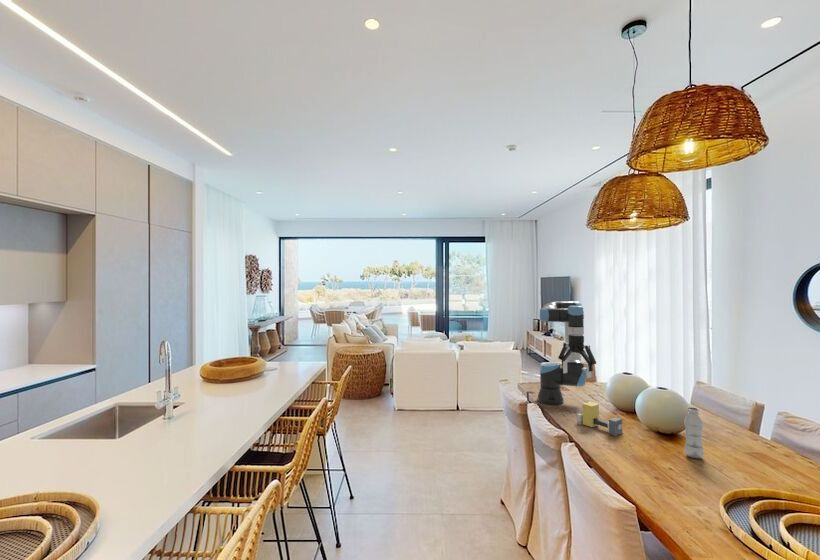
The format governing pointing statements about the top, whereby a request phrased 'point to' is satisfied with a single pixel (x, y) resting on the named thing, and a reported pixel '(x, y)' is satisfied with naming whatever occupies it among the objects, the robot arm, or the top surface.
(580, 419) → the grey slider rail
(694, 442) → the plastic bottle
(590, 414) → the yellow rectangular block
